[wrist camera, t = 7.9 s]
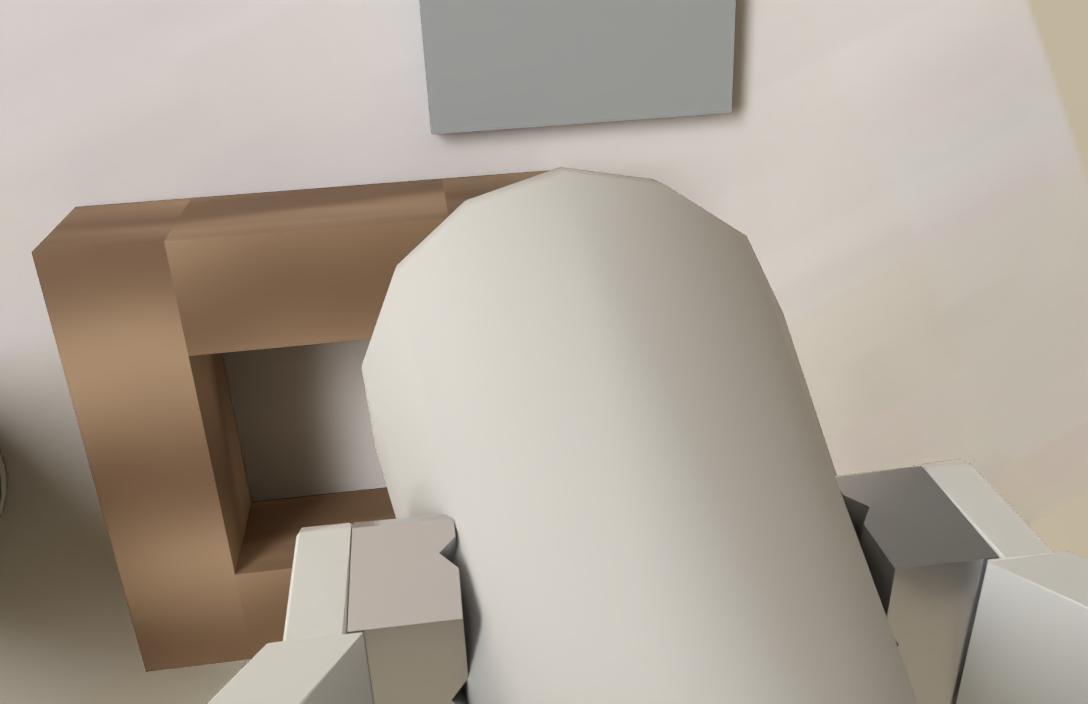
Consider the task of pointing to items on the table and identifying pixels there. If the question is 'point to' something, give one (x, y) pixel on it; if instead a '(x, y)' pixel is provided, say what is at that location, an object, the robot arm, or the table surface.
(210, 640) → the socket block
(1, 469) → the canned tomato
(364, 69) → the table surface
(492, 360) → the salt shaker
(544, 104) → the coaster
